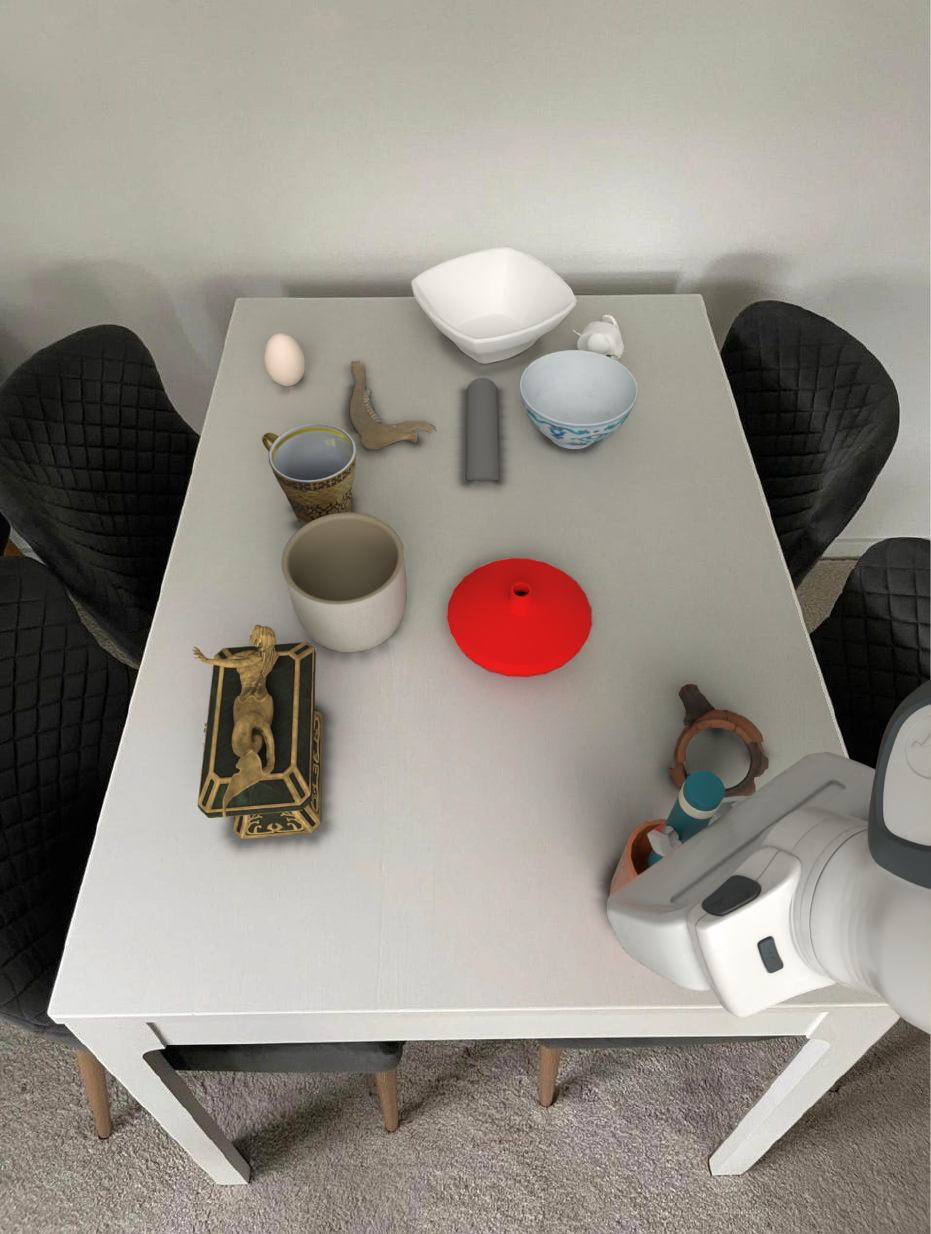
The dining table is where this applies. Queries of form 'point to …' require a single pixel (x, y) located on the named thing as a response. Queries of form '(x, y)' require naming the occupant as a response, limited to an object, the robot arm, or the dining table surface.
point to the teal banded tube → (694, 806)
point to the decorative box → (263, 738)
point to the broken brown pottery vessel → (707, 717)
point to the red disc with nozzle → (519, 617)
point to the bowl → (493, 301)
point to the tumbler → (634, 855)
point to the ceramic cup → (314, 469)
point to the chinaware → (577, 396)
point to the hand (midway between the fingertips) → (677, 822)
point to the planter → (346, 580)
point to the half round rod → (482, 431)
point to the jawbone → (369, 422)
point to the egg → (284, 359)
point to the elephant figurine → (602, 338)
